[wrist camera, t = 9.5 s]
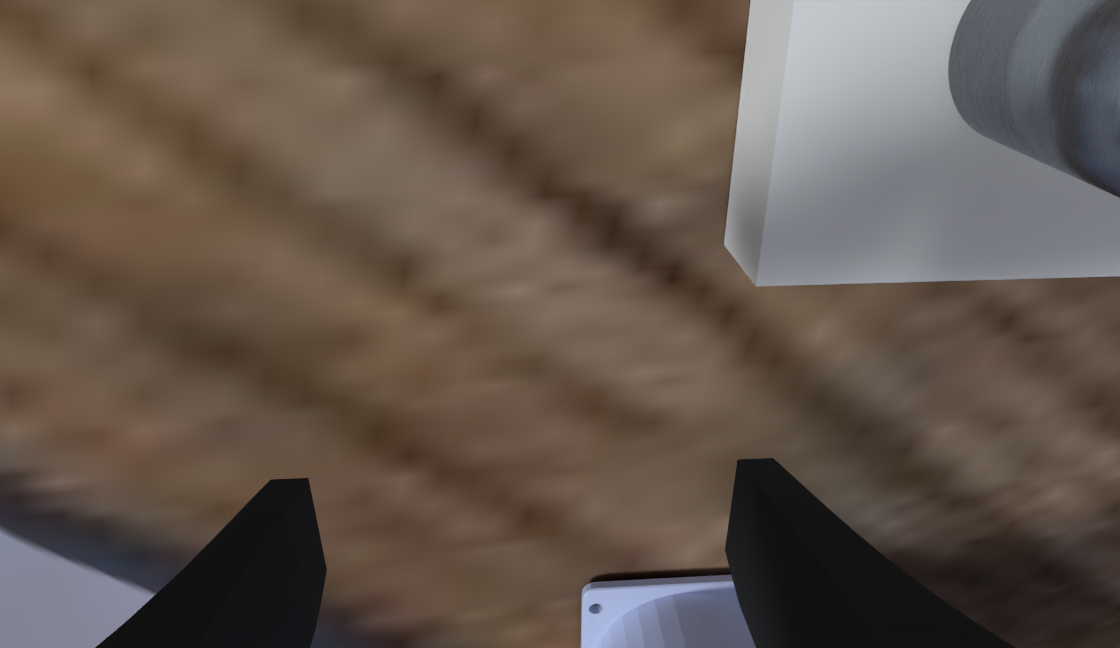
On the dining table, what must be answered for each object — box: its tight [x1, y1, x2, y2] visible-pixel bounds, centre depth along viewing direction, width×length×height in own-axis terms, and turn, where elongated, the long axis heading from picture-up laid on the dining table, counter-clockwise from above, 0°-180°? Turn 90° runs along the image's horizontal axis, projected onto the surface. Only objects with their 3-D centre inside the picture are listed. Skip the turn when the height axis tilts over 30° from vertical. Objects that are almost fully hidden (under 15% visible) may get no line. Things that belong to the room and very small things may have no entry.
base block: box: [724, 0, 1120, 286], centre depth 17 cm, size 12×12×3 cm
